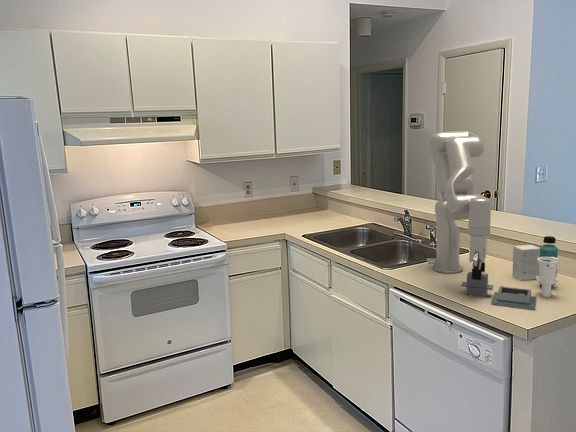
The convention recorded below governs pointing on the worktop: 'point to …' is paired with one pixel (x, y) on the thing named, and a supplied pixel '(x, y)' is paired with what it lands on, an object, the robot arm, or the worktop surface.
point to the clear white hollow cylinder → (547, 274)
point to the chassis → (514, 298)
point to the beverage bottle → (549, 251)
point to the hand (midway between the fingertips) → (478, 275)
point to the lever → (477, 285)
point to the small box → (525, 262)
